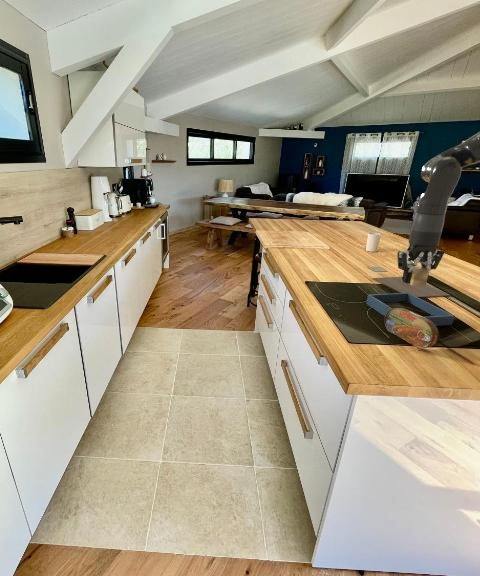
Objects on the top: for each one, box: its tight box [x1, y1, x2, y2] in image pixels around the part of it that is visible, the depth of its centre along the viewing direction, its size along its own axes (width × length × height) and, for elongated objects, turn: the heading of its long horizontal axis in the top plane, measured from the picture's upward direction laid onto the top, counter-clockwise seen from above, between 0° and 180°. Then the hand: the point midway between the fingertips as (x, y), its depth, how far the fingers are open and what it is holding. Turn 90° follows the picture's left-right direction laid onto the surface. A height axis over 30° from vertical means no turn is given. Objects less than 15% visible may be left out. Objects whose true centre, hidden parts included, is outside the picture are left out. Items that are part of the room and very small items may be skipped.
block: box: [402, 266, 430, 286], centre depth 99 cm, size 5×5×5 cm
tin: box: [384, 307, 439, 350], centre depth 88 cm, size 15×3×8 cm, turn 13°
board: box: [372, 276, 452, 299], centre depth 125 cm, size 16×22×2 cm
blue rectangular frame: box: [365, 292, 455, 327], centre depth 103 cm, size 15×19×4 cm
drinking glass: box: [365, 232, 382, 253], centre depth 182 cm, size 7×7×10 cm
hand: (413, 282), depth 100 cm, fingers closed on block, 4 cm apart
